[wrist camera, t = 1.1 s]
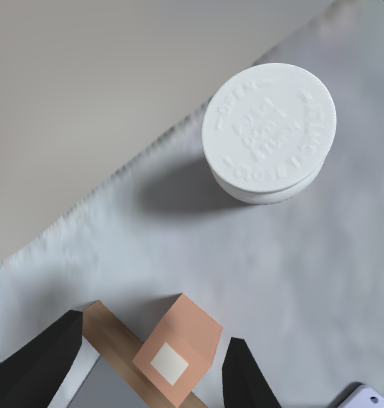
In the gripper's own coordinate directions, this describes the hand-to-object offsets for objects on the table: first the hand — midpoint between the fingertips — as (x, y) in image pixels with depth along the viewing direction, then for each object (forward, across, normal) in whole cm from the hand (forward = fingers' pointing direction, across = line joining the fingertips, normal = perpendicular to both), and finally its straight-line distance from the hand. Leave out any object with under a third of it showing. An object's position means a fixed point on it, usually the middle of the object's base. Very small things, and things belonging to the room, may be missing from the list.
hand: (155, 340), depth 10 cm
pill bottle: (+12, -6, -8) cm, 16 cm away
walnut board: (+9, -1, +14) cm, 17 cm away
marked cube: (+9, -3, +9) cm, 13 cm away
